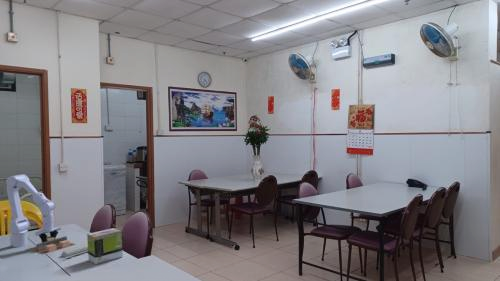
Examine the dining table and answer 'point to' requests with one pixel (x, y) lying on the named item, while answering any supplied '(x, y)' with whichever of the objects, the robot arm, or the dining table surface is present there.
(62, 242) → the tile
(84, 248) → the tube
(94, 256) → the tea box
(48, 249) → the pink block
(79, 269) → the dining table surface
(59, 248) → the board
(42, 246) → the scraper
